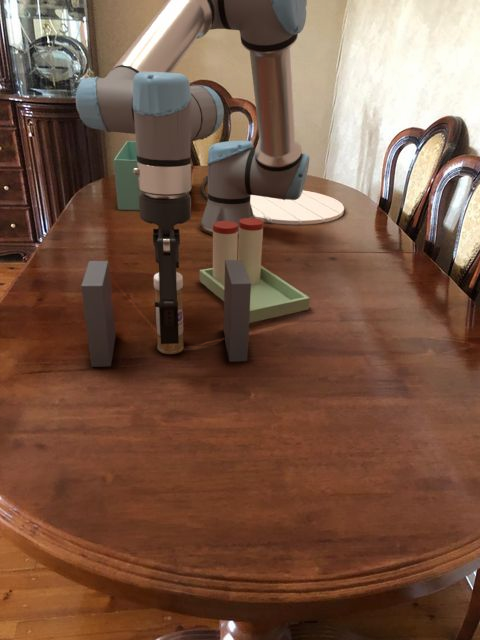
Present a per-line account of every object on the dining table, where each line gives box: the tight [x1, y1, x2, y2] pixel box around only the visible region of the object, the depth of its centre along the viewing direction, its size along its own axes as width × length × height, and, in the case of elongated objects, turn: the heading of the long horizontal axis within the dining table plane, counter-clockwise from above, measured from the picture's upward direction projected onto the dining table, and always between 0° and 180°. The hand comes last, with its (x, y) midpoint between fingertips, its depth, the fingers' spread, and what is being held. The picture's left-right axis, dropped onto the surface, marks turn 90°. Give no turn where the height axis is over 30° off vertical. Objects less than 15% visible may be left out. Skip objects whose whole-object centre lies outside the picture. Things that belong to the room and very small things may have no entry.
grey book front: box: [80, 260, 117, 368], centre depth 84 cm, size 3×10×14 cm, turn 9°
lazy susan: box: [250, 189, 345, 226], centre depth 171 cm, size 40×39×3 cm
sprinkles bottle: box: [153, 271, 185, 355], centre depth 86 cm, size 5×5×14 cm
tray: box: [199, 265, 311, 324], centre depth 108 cm, size 22×14×3 cm, turn 31°
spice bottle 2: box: [237, 218, 264, 285], centre depth 111 cm, size 5×5×13 cm
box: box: [113, 140, 190, 211], centre depth 169 cm, size 21×32×14 cm, turn 6°
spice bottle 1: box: [212, 221, 239, 286], centre depth 109 cm, size 5×5×13 cm
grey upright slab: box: [223, 259, 251, 363], centre depth 88 cm, size 3×10×14 cm, turn 9°
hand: (169, 322), depth 87 cm, fingers open, 13 cm apart
